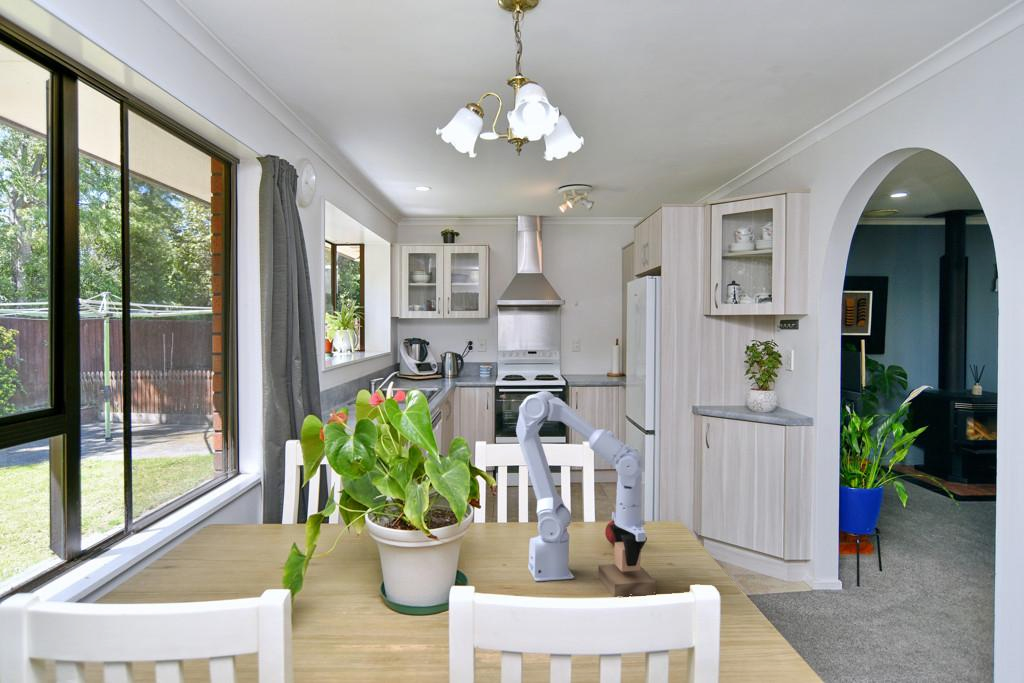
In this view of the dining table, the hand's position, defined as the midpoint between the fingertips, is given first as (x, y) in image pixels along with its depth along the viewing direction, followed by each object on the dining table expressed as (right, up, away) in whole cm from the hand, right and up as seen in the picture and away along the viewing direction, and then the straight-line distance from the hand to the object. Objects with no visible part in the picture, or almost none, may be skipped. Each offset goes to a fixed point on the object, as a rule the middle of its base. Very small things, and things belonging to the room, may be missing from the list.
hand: (626, 560), depth 127 cm
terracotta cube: (0, -1, 0) cm, 1 cm away
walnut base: (0, -6, 0) cm, 6 cm away
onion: (+2, -6, +24) cm, 25 cm away
